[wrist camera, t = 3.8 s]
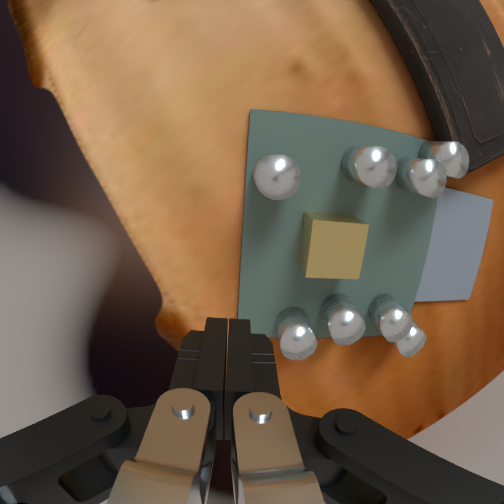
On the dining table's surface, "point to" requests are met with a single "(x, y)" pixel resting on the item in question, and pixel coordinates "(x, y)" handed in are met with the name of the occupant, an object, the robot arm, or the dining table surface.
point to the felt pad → (455, 246)
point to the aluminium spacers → (377, 176)
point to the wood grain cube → (332, 245)
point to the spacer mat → (327, 201)
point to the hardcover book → (454, 70)
